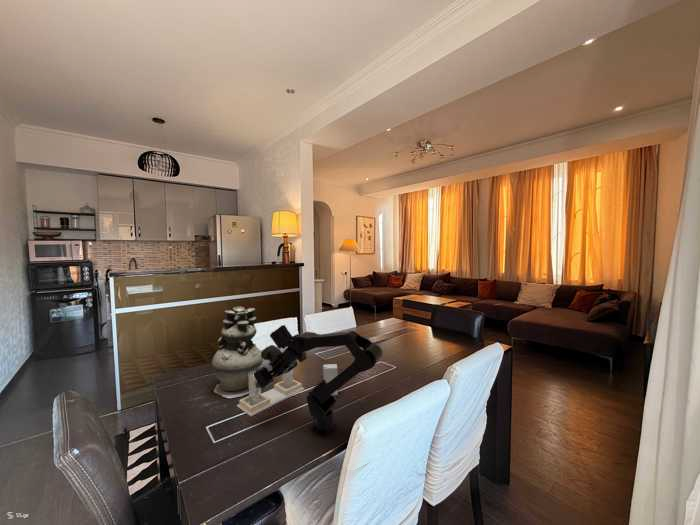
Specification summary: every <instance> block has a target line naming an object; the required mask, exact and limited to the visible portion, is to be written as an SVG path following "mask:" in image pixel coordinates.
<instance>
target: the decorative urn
mask: <svg viewBox="0 0 700 525" xmlns="http://www.w3.org/2000/svg"><path fill="white" fill-rule="evenodd" d="M254 312H256V308H254V307H249V308H248V309H245V307H243V306H234V307H232V310H224V314H225V315H227V316H226V318H225V319H224V320H223V321H222V323H223V324H224V326H223V328H222V329H221V332H220V333H221V336H220V337H219V338H218V339H217V344H219V346H218V350H217V351H216V352H215V354H214V356H213V358H212V359H211V360H212V361H211V368H212V371H213V373H214V375H215V376H216V378H217V379H218V380H219V382H220V383H217V384H216V385H215V387H214V390H213V392H214V393H216V394H217V395H219V396H221V397H223V398H226V399H233V398H234V399H235V398H239V397H243V396H245V395H249V378H248V374H249V373H250V372H252V371H257V370H259V369H260V367H261V366H262V365H263V363H264V362H263V361H264V359H263V358H262V357H261V352H262V351H261V350H260V348H259V347H257V345H256V343H253V338H254V337H255V336H256V334H257V332H258V330H257V328H256V326H255V322H256V320H257V316H254Z"/></svg>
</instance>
